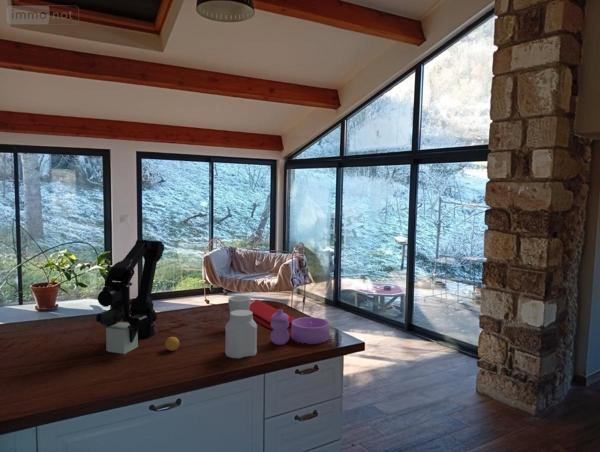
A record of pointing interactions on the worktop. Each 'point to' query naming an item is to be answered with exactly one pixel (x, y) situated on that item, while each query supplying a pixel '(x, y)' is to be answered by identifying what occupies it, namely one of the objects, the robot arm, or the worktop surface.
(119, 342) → the pale grey cube
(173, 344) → the ball
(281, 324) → the container set
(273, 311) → the dish drying mat
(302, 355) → the worktop surface
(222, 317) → the worktop surface
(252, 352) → the jar
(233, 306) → the foam cup
